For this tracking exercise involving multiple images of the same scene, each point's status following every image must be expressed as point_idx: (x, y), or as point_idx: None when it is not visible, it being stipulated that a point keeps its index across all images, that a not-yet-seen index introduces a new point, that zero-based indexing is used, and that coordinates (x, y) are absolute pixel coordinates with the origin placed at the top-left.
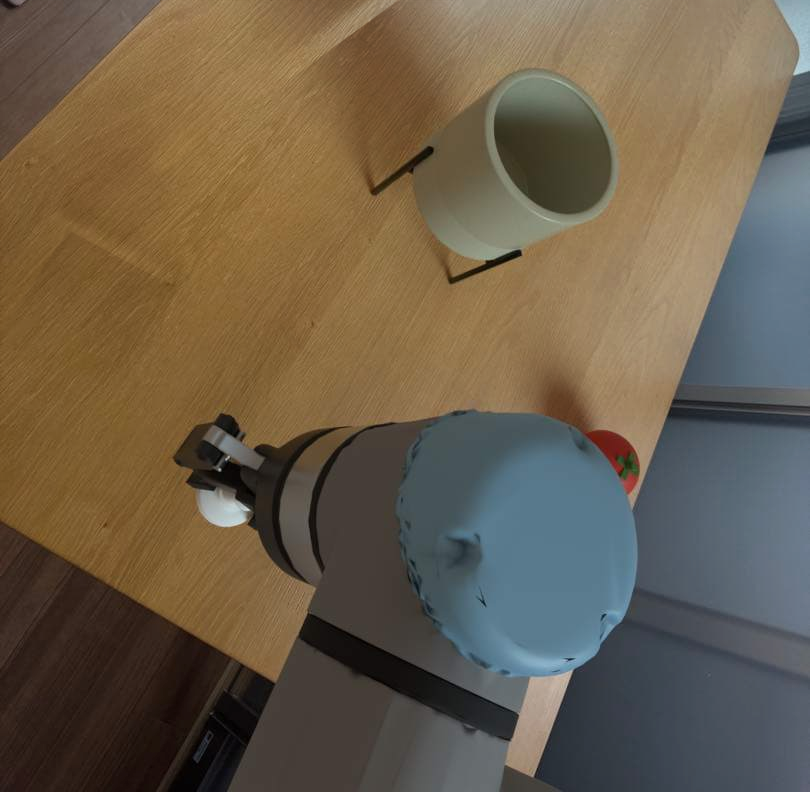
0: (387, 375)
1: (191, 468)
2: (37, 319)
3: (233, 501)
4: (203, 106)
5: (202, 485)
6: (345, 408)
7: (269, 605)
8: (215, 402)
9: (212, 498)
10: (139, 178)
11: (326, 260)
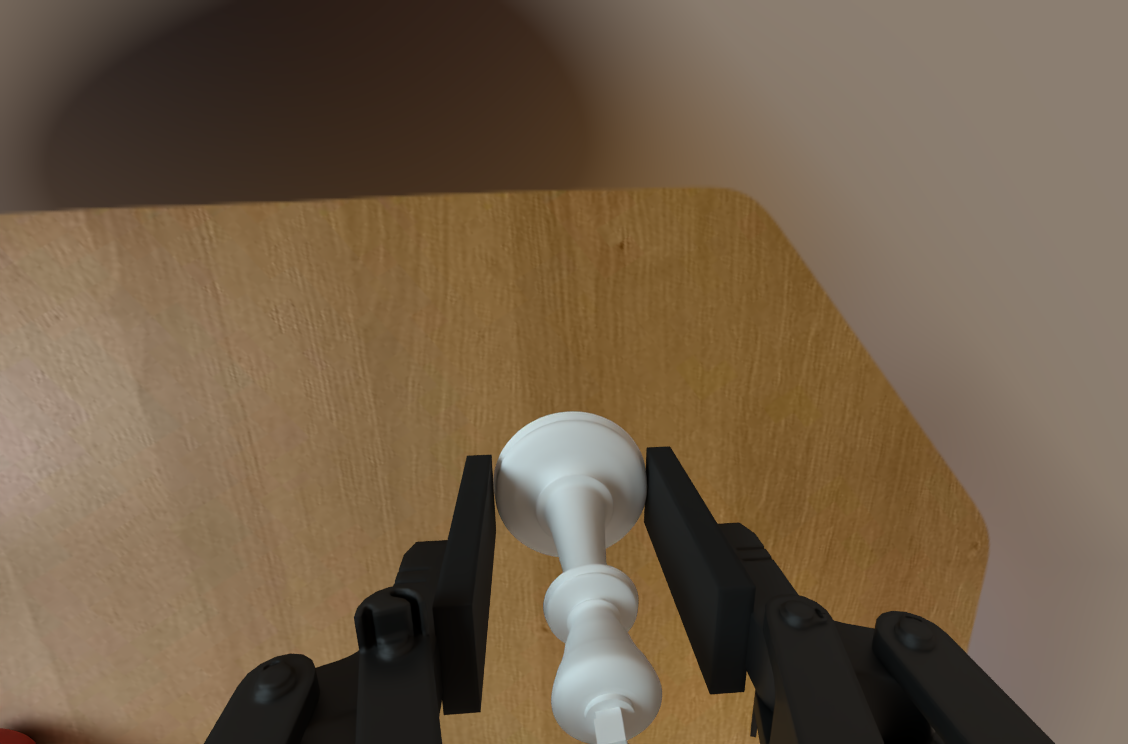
0: None
1: (928, 692)
2: (863, 411)
3: (581, 514)
4: None
5: (732, 555)
6: None
7: (318, 285)
8: None
9: (605, 463)
10: (855, 618)
11: None
